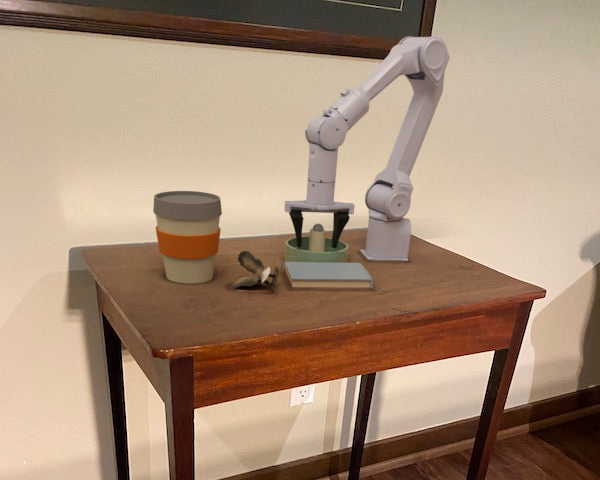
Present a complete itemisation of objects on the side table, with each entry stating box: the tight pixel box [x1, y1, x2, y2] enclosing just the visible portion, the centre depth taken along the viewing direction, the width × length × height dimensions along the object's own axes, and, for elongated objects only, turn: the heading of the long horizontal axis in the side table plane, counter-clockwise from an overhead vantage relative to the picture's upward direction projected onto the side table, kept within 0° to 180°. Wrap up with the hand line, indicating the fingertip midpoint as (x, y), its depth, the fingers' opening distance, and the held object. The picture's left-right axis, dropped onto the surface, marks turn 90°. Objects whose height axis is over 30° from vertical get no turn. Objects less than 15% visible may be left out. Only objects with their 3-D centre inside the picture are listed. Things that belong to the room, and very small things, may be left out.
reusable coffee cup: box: [152, 190, 223, 285], centre depth 117 cm, size 13×13×15 cm
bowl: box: [283, 235, 350, 263], centre depth 133 cm, size 14×14×4 cm
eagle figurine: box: [231, 250, 284, 293], centre depth 115 cm, size 8×7×9 cm
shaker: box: [308, 223, 327, 252], centre depth 132 cm, size 4×4×8 cm
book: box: [283, 261, 375, 289], centre depth 122 cm, size 16×11×2 cm
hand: (316, 246), depth 132 cm, fingers open, 7 cm apart
